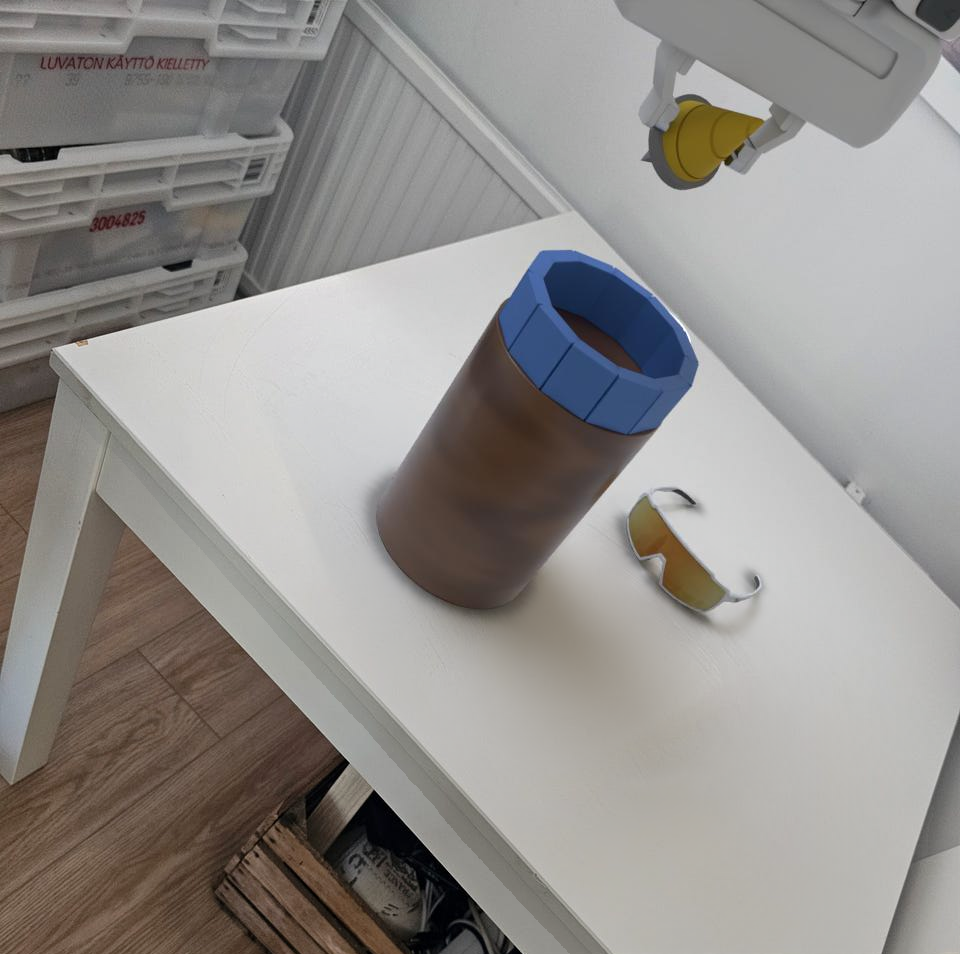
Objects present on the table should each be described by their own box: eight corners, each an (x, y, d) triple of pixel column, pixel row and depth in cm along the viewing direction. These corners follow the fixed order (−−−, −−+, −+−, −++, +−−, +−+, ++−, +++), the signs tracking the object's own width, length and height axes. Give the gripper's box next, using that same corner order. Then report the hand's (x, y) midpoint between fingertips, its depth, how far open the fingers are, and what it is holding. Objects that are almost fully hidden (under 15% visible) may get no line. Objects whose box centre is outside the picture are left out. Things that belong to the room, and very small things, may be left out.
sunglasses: (598, 517, 98) (632, 481, 95) (669, 502, 110) (701, 470, 107) (691, 633, 95) (730, 600, 92) (754, 606, 106) (790, 575, 104)
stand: (386, 592, 79) (517, 404, 65) (367, 460, 87) (481, 268, 73) (540, 622, 86) (688, 457, 72) (510, 497, 93) (638, 327, 80)
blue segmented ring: (520, 402, 66) (553, 354, 63) (485, 272, 73) (513, 225, 70) (683, 452, 72) (720, 412, 69) (636, 328, 80) (667, 287, 77)
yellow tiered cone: (693, 181, 70) (806, 154, 61) (633, 208, 68) (742, 185, 59) (672, 96, 67) (787, 56, 59) (610, 122, 65) (719, 85, 57)
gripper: (726, -165, 48) (566, 104, 57) (996, 29, 58) (822, 232, 68) (688, -214, 52) (542, 48, 61) (949, -23, 62) (790, 177, 71)
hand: (691, 146), depth 64 cm, fingers closed on yellow tiered cone, 5 cm apart
